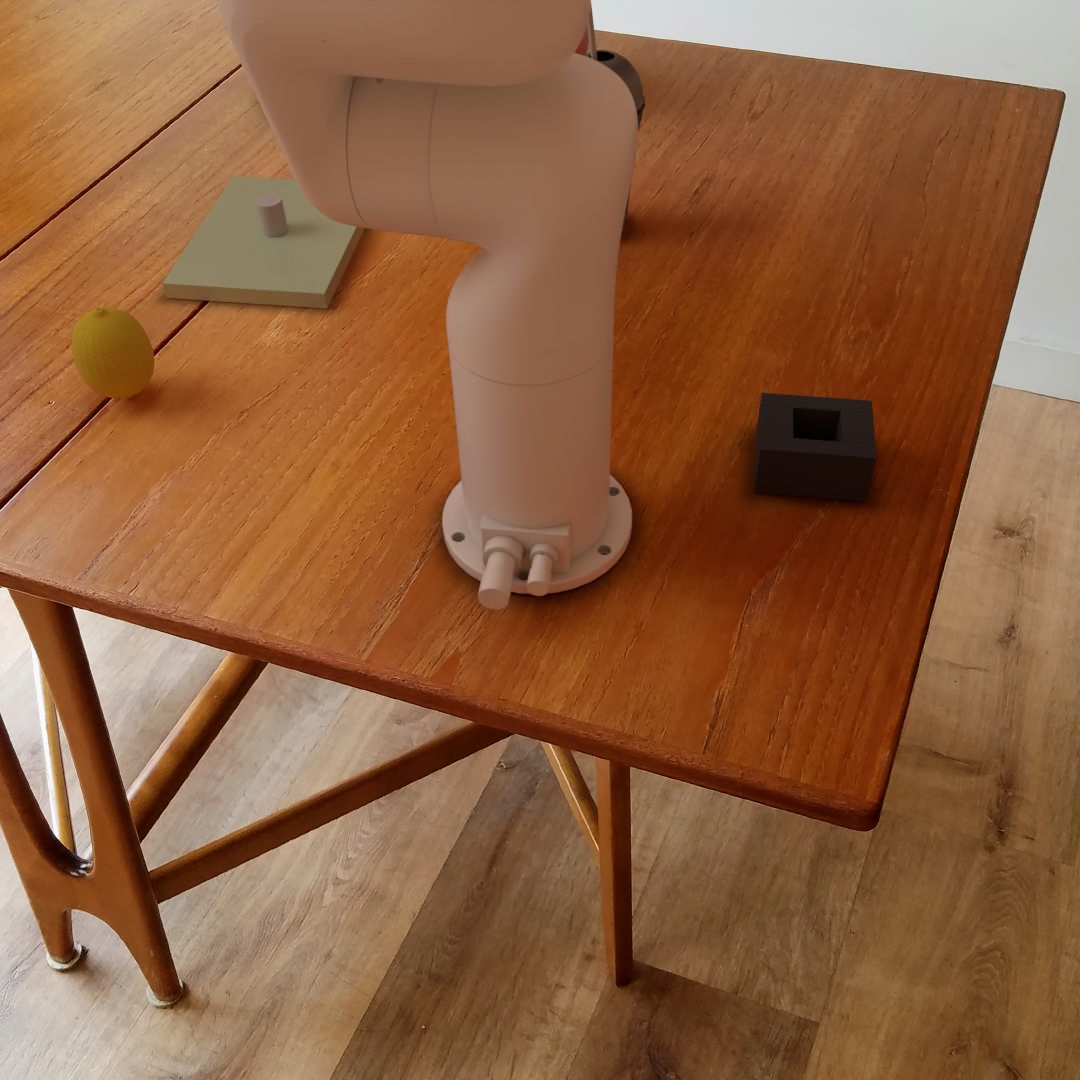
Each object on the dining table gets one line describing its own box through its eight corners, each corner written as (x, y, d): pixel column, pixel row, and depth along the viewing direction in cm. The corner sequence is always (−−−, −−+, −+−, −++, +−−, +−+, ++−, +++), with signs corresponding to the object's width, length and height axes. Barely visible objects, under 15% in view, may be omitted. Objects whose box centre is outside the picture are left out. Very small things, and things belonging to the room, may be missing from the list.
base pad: (327, 309, 95) (318, 261, 92) (166, 298, 97) (152, 251, 94) (379, 198, 108) (373, 153, 104) (236, 190, 109) (225, 145, 106)
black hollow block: (865, 502, 78) (876, 458, 75) (754, 493, 79) (760, 449, 76) (861, 444, 82) (872, 400, 79) (755, 436, 83) (761, 392, 80)
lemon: (104, 429, 85) (70, 341, 79) (82, 390, 89) (48, 302, 83) (176, 403, 87) (147, 315, 81) (152, 366, 91) (123, 278, 85)
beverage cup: (633, 252, 100) (642, 18, 86) (551, 245, 101) (547, 12, 87) (645, 210, 105) (655, -19, 91) (566, 203, 106) (564, -24, 92)
